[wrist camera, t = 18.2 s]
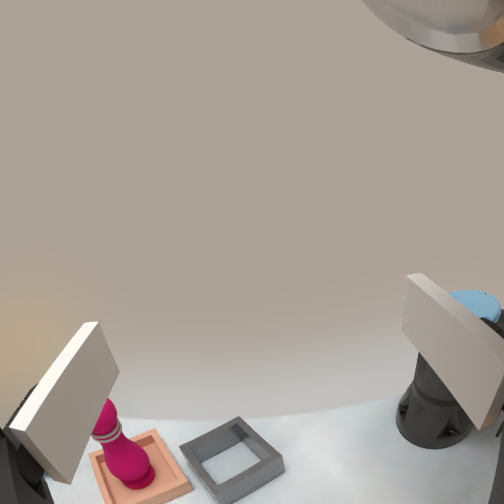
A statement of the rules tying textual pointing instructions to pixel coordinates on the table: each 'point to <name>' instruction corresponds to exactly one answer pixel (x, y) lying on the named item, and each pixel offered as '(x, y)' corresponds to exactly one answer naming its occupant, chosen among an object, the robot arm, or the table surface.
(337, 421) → the table surface
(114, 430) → the pepper mill
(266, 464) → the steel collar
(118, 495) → the terracotta tray
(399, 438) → the table surface
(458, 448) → the table surface
